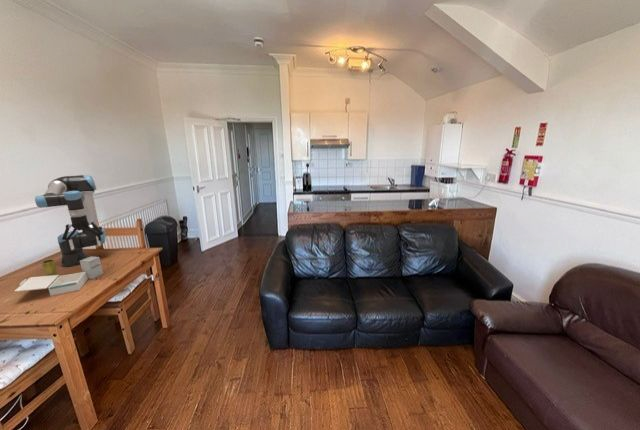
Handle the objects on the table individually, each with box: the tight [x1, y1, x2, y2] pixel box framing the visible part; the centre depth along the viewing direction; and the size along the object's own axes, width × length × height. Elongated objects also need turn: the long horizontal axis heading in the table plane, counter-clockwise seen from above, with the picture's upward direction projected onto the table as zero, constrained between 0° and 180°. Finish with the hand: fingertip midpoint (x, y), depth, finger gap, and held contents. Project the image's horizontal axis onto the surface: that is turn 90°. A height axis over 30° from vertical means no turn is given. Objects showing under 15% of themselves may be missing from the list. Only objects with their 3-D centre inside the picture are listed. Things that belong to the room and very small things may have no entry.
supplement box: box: [79, 256, 104, 280], centre depth 174 cm, size 7×7×13 cm
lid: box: [13, 274, 60, 293], centre depth 155 cm, size 18×13×2 cm
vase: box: [41, 258, 60, 285], centre depth 168 cm, size 6×6×14 cm
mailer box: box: [47, 271, 88, 297], centre depth 162 cm, size 16×13×5 cm
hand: (86, 247), depth 170 cm, fingers open, 13 cm apart
